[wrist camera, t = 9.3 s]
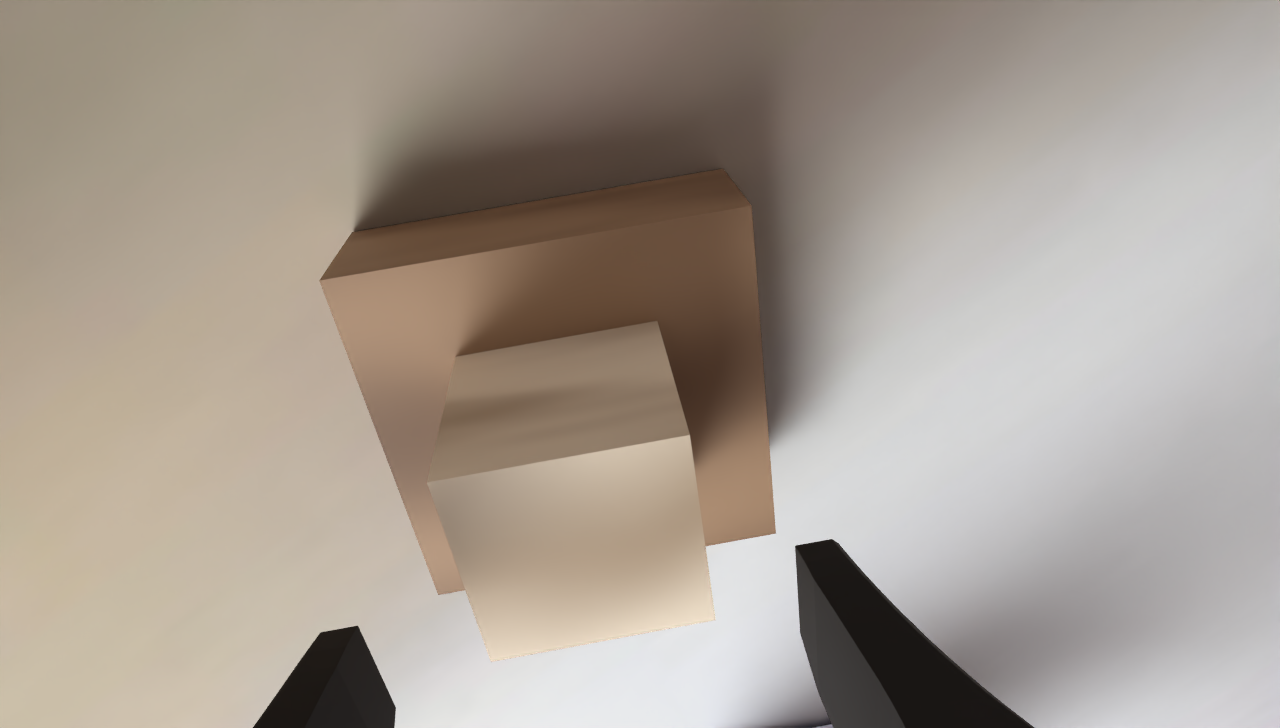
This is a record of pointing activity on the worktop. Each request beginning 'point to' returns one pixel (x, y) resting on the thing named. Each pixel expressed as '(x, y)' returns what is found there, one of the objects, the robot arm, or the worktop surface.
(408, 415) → the walnut base
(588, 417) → the birch block
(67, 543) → the worktop surface
